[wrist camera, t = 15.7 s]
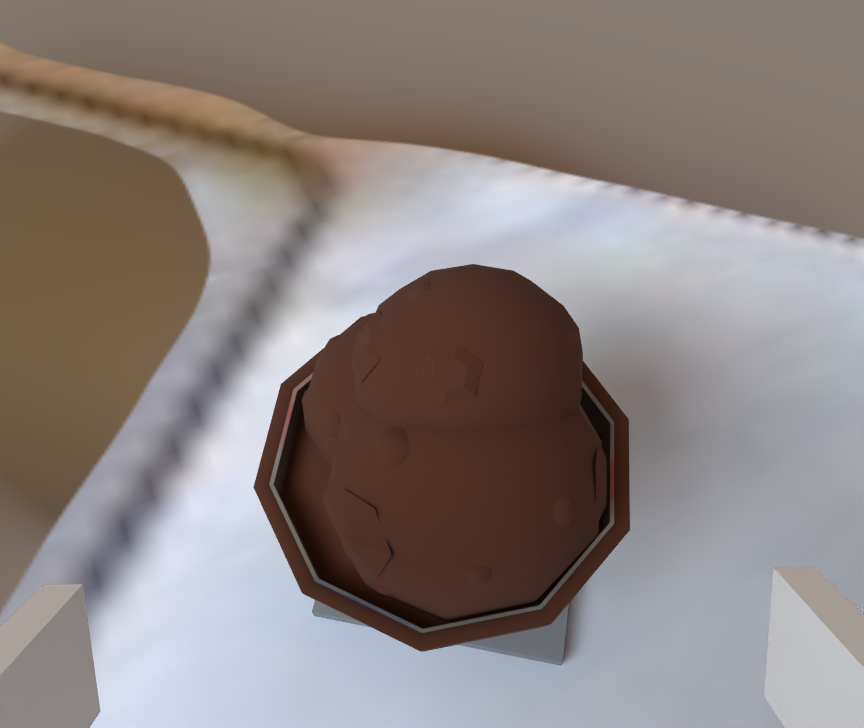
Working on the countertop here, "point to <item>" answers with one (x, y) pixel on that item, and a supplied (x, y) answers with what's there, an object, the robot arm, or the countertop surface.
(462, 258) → the countertop surface
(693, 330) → the countertop surface
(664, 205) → the countertop surface
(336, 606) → the ice cream bowl
